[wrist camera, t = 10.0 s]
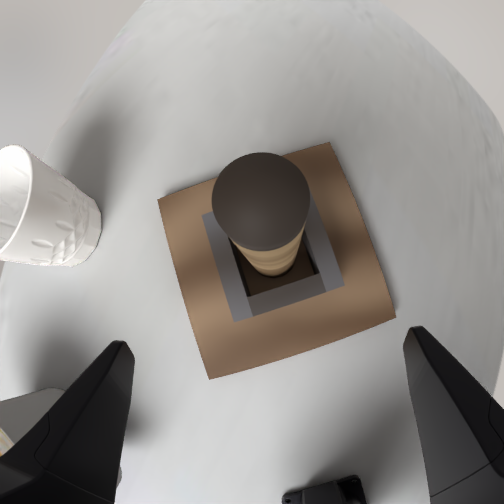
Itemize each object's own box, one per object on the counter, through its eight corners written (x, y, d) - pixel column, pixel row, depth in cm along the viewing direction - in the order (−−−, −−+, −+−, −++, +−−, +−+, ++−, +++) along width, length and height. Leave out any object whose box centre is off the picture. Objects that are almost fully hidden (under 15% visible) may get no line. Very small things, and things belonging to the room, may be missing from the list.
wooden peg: (301, 270, 22) (324, 227, 9) (259, 284, 22) (227, 259, 9) (286, 229, 23) (289, 141, 10) (246, 243, 23) (200, 170, 10)
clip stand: (391, 316, 22) (411, 319, 18) (212, 376, 22) (198, 390, 19) (328, 147, 24) (334, 122, 20) (161, 203, 25) (141, 186, 21)
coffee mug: (33, 453, 23) (-28, 482, 13) (30, 373, 24) (-45, 387, 14) (141, 507, 21) (92, 566, 11) (146, 423, 22) (81, 474, 13)
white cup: (99, 173, 26) (31, 123, 16) (117, 253, 25) (37, 226, 15) (38, 210, 26) (-34, 179, 17) (51, 286, 25) (-31, 275, 15)
